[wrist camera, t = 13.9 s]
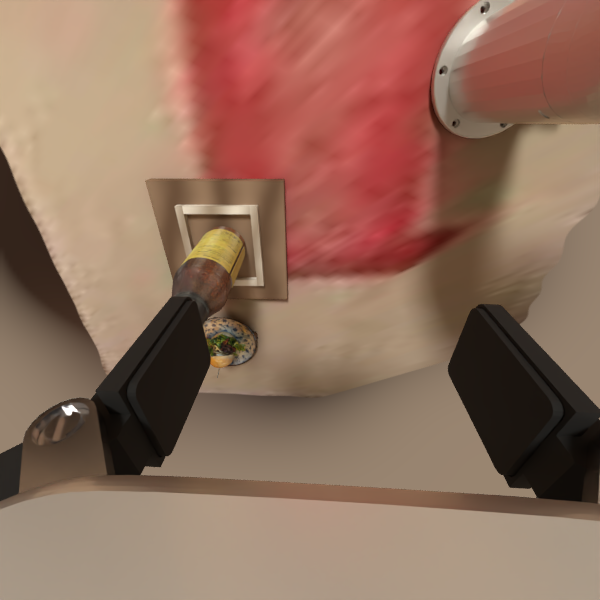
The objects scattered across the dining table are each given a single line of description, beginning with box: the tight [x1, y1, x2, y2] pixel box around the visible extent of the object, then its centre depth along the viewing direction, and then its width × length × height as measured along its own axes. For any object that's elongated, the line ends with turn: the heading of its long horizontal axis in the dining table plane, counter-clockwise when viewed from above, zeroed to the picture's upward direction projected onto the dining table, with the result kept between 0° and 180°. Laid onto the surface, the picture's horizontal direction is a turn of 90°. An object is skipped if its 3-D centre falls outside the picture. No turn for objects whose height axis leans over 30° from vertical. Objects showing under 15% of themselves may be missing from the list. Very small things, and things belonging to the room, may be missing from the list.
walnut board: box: [145, 179, 288, 299], centre depth 41 cm, size 18×18×2 cm
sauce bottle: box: [172, 226, 245, 325], centre depth 33 cm, size 7×6×20 cm
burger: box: [203, 317, 258, 377], centre depth 50 cm, size 12×12×8 cm
